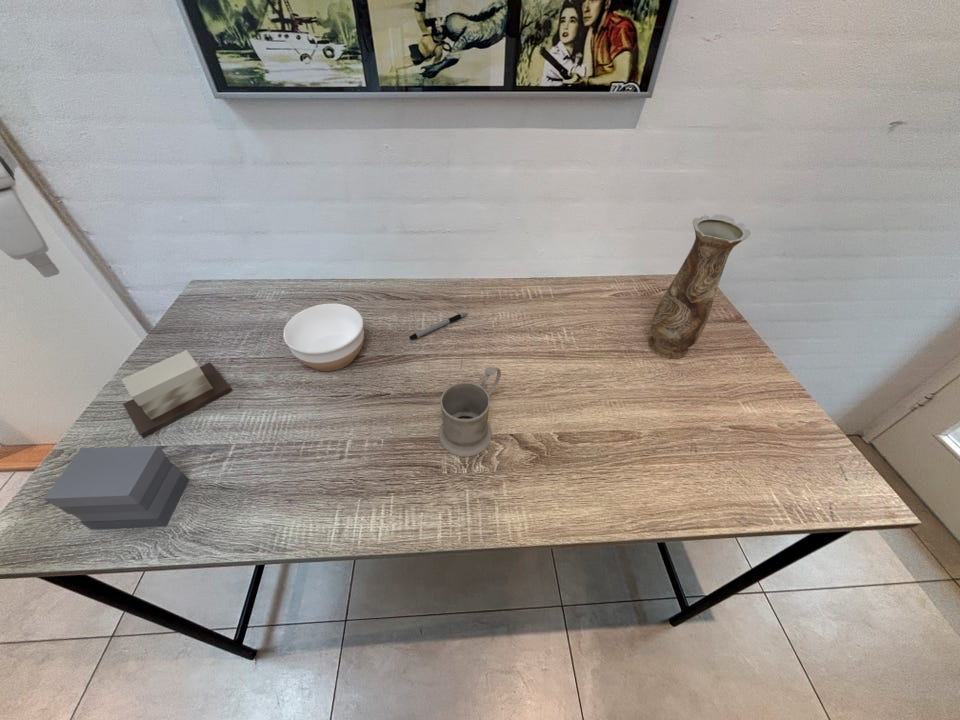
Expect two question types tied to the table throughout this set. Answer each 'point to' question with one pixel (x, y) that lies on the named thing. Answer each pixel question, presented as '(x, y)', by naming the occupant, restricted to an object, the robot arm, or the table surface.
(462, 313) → the pen
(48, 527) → the table surface
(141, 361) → the table surface
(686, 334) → the vase
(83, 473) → the grey books
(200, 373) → the white book
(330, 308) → the bowl
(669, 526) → the table surface
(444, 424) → the mug
